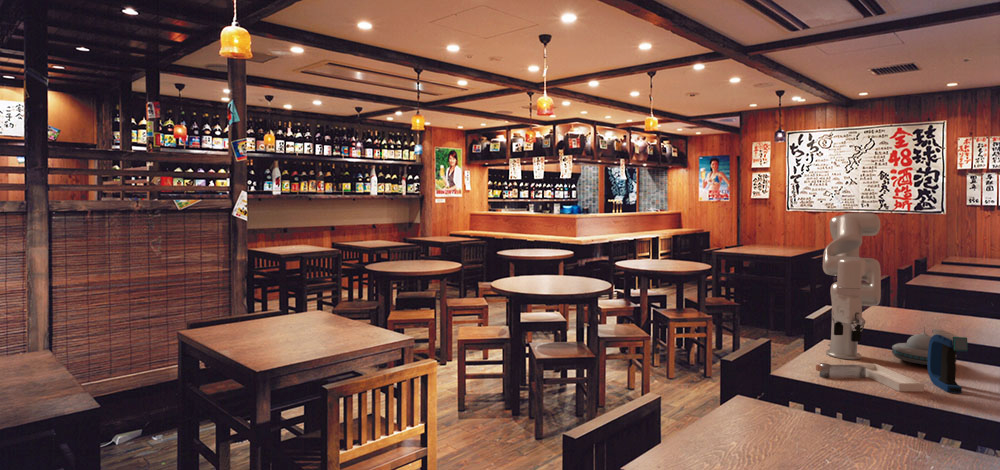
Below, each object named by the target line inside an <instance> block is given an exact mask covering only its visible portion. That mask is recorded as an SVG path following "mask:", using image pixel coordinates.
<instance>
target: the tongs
mask: <svg viewBox="0 0 1000 470" xmlns="http://www.w3.org/2000/svg"><path fill="white" fill-rule="evenodd" d="M815 371H816V372H819V377H820V378H824V379H866V378H867V376H866V367H864V366H862V365H853V364H830V363H825V362H820V363H819V364H815Z"/></svg>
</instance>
